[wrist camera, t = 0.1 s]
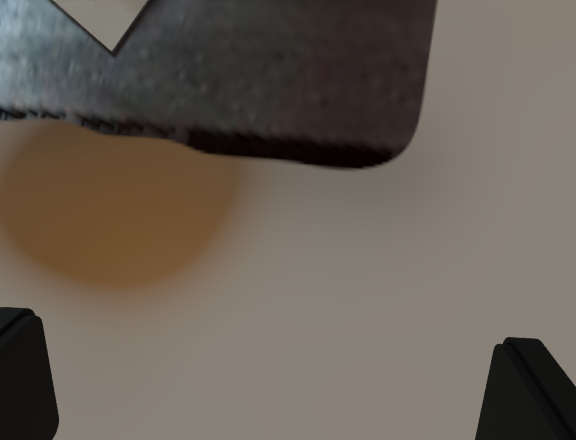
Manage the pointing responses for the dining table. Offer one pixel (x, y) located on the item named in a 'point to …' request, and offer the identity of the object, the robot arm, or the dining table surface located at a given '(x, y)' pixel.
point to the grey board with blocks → (105, 17)
